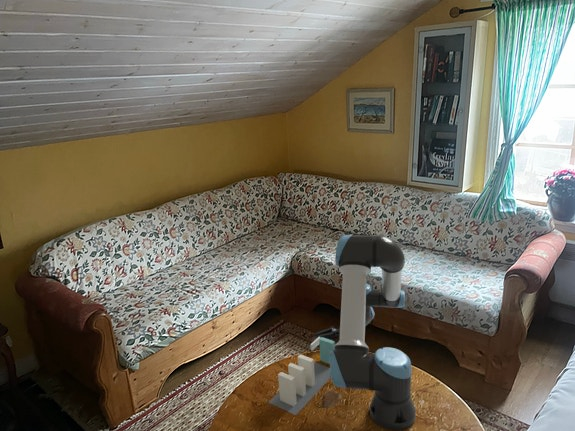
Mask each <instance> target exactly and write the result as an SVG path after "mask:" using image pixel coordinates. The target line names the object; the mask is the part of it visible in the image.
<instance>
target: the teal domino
mask: <svg viewBox="0 0 575 431" xmlns="http://www.w3.org/2000/svg"><path fill="white" fill-rule="evenodd" d="M319 342H320V344H319V359H320V361H321V362H323V363H325V364H328V365H330V351H332V350H335V344H336V342H335V340H333V339H326V338H323V337H321V338H320V339H319Z"/></svg>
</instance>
